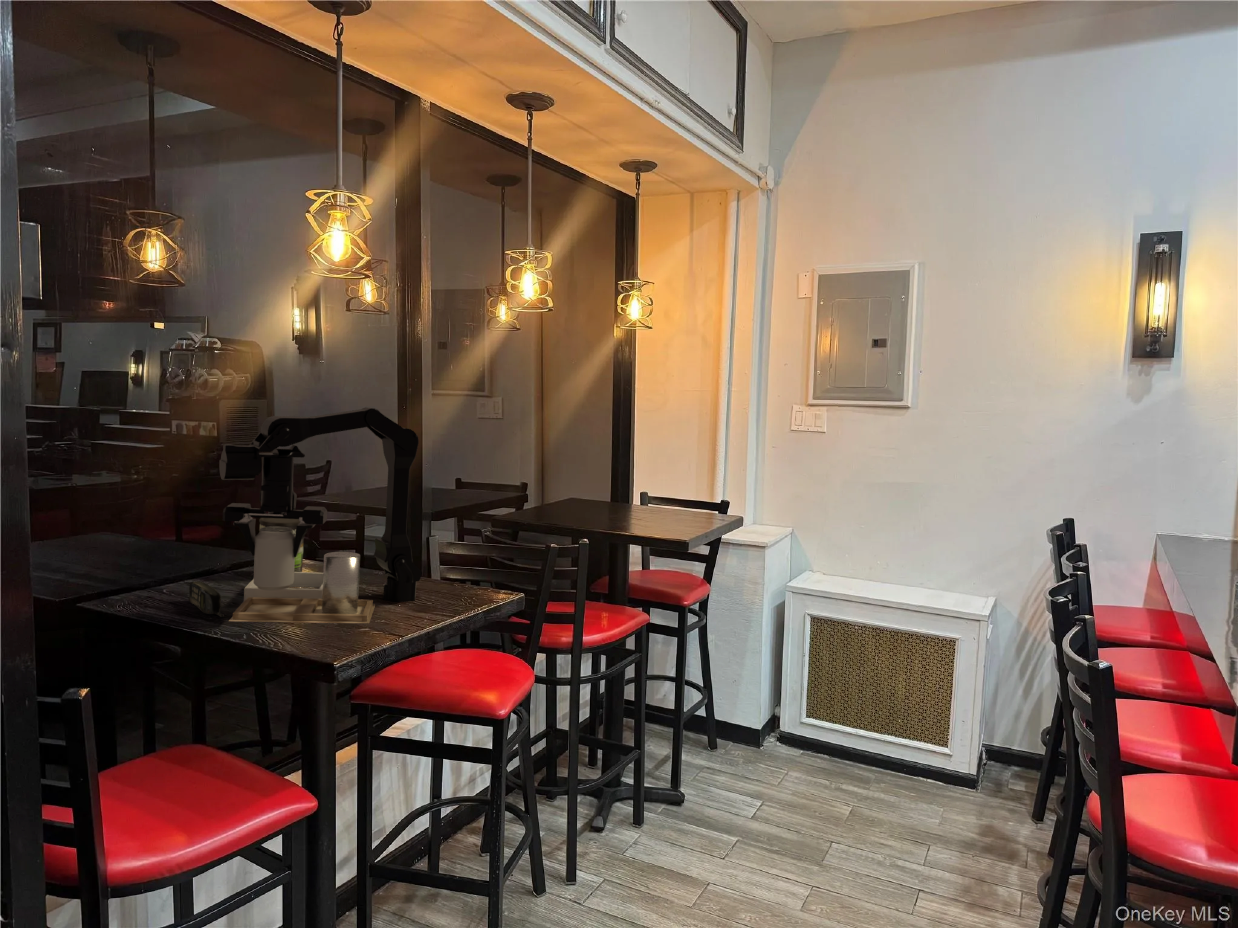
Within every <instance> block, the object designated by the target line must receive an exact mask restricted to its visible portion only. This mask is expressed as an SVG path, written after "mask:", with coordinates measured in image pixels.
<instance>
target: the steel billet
mask: <svg viewBox="0 0 1238 928" xmlns="http://www.w3.org/2000/svg"><path fill="white" fill-rule="evenodd" d="M360 565H361V554H360V553H357V552H351V551H333V552H328V553H325V554H323V568H322V569H323V572H322V573H323V591H322V614H357V612H358V600H359V589H360V588H359V587H360V570H361V569H360V568H361V566H360Z"/></svg>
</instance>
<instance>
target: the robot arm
mask: <svg viewBox="0 0 1238 928" xmlns="http://www.w3.org/2000/svg"><path fill="white" fill-rule="evenodd" d="M363 428H367V429H368V430H369V431H370V432H371V433H372V434H373V435H374V436H376V437H377V438H378V439H380V440H381V441H382V442H381V443H382V449H383V450H382V451H383V455H384V458H385V461H386V462H385V463H386V465H387V484H386V485H387V487H386V502H385V503H386V506H385V507H386V508H385V509H386V510H385V525H384V527H385V528H384V533H383V534H382V536H381V538H375V539H374V544H375V545H374V546H375V549H374V553H373V557H375V558H376V562H377V564H378V565H379V566H380V567H381V568H382V570H383V573H384V575H386V576H387V578H386V581H385V582H384V584H383V593H382V594H383V597H382V598H383V599H382V600H383V601H389V602H395V603H408V602H415V601H416V596H417V593H416V592H417V582H420V580H421V578H422V576H423V571H422V569H420V568H419V567H418V566H417V565H416V564H415V563H414V562H413V561H414V560H413V553H412V552H413V551H412V546H411V543H410V539H409V536H408V533H407V532H408V531H407V529H408V512H409V511H408V510H409V509H408V508H409V491H410V472H411V467H412V466H413V463H414V462H415V460H416V457H417V452H418V448H419V445H420V444H419V441H420V440H419V435H418V434H417V433H416V432H415V431H414V430H413V429H411V428H407V427H402V425H400V424H398V423H397V422H395V421H394V420H392V419H390V418H389V417H387V416H386V415H384V414H383V413H382V412H381V411H380V410H379V409H377V408H374V407H367V406H366V407H362V408H361V409H355V410H347V411H341V412H334V413H333V412H332V413H327V414H320V415H313V416H295V415H294V416H293V415H292V416H291V415H272V416H269V417H267V418H266V419H265V420H264V421H263V422H262V424H261V427H260V431H259V432H258V434H257V435H256V437H254V439H253V440H252V441H251V443H250V444H249V445H235V444H230V443H229V444H227V443H225V444H223V445H222V446H223V447H222V449H223V450H222V452H221V453H220V455H221V456H220V459H219V467H218V469H219V475H220V478H221V480H222V481H225V480H228V481H231V480H232V481H233V480H234V481H235V480H243V481H244V480H248V481H249V480H255V479H256V476H257V477H259V476H260V474H261V487H260V491H259V502H260V508H256V507H254V508H253V507H252V505H251V503H243V502H242V503H240V502H238V503H235V502H232V503H230V504H228V505H227V506H225V507H224V508H223V511H222V521H223V522H232V523H233V526H236V527H238V528H239V530H240V531H241V533H242V535H243V537H244V539H245V542H246V543H247V546H248V548H249V551H250V553H251V555H252V556H253V557H254V555H255V536H256V521H257V518H258V519H260V518H281V519H299V521H300V523H299V524H298V525H297V528H296V536H295V544H294V557H296V556H297V554H298V552H299V549H300V546H301V544H302V541H303V539H304V540H305V536H306V535H307V532H308V530H309V529H313V528H314V527H315V526H316V525H324V524H325V523H326V522H327V521H328V509H327V508H326V507H325V506H312V505H311V506H309V505H308V506H306V507H304V509H296V507H297V506H296V505H297V496H298V495H297V493H296V492H295V491H294V463H295V462H294V461H295V460H294V459H297V458H300V459H303V458H305V457H306V455H305V453H303V452H302V450H300V449H299V446H298V445H296V444H298V443H301V442H303V441H306V440H308V439H310V438H312V437H316V436H320V435H326V434H334V433H339V432H346V431H351V430H357V429H363ZM282 447H283V448H282ZM286 447H288V448H286Z"/></svg>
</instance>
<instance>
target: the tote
mask: <svg viewBox="0 0 1238 928" xmlns="http://www.w3.org/2000/svg"><path fill="white" fill-rule="evenodd" d="M322 591H323V572H315V571H313V572H309V571H308V572H307V571H302V572H294V583H293V584H292V585H290V586H289V588H287V589H283V590H262V589H259V588H258V587H257V586H256V585H255V584H254V578H253V579H252V580H251V581H250V582H249V583H248V584H247V585H246V586H245V587H244V590H243V602H244V601H245V600H246V599H247V598H248V597H264V598H311V599H322Z"/></svg>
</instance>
